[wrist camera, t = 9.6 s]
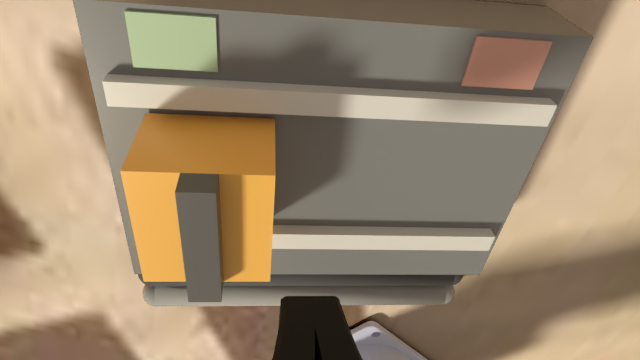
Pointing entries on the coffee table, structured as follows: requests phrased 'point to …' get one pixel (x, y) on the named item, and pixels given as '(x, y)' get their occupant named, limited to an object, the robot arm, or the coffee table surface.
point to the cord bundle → (317, 290)
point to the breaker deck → (350, 113)
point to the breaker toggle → (202, 200)
